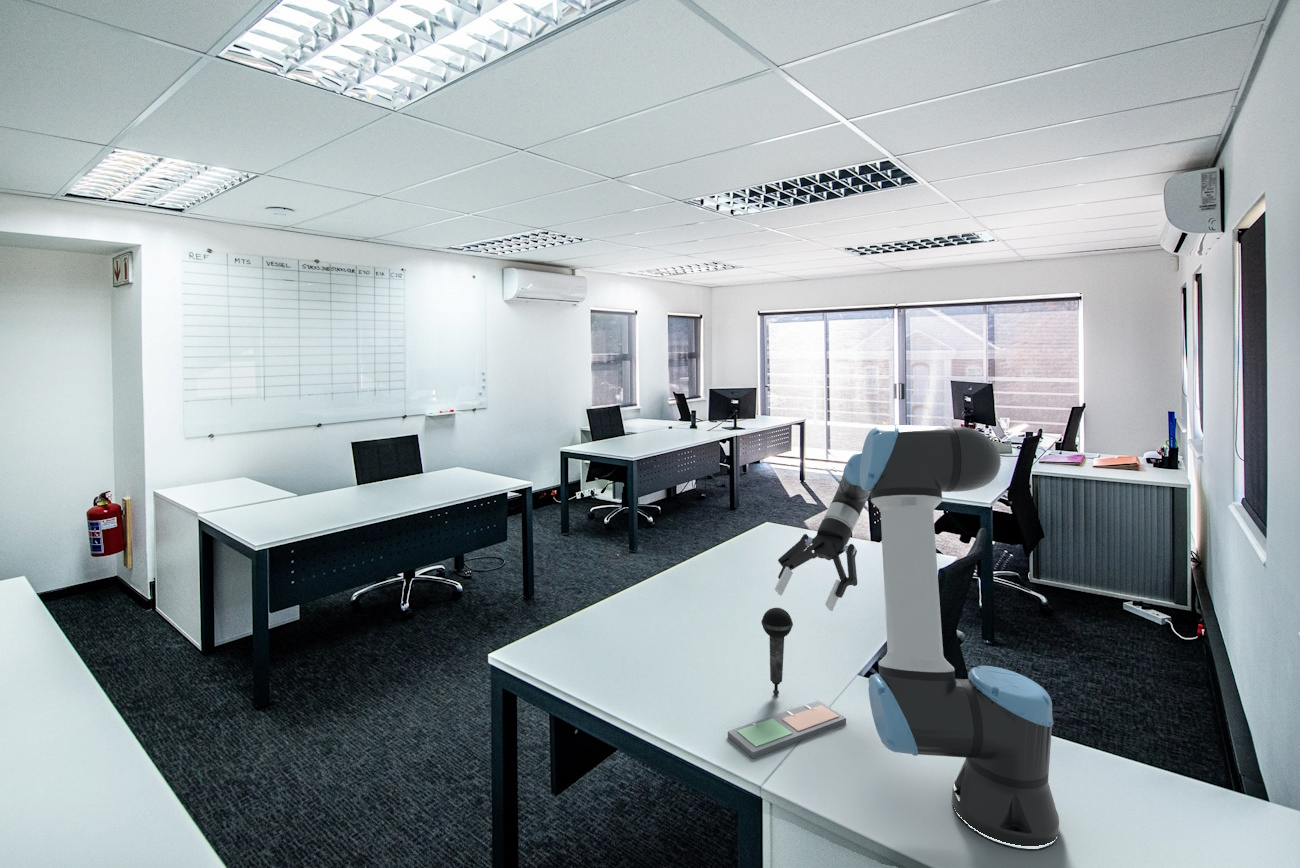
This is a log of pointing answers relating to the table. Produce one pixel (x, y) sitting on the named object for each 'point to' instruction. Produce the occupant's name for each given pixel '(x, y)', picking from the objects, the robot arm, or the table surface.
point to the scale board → (785, 728)
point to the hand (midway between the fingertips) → (802, 600)
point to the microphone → (776, 641)
